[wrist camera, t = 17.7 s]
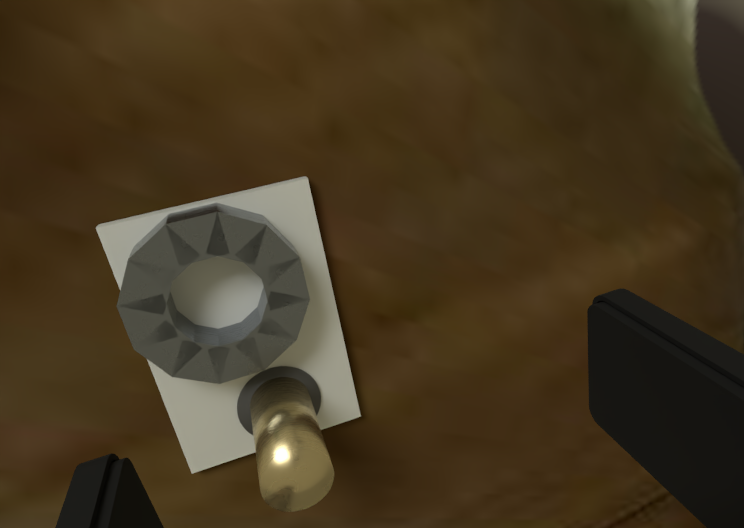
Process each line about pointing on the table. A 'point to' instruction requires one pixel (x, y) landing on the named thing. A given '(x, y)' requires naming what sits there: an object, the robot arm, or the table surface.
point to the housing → (200, 343)
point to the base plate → (232, 305)
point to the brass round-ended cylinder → (289, 446)
